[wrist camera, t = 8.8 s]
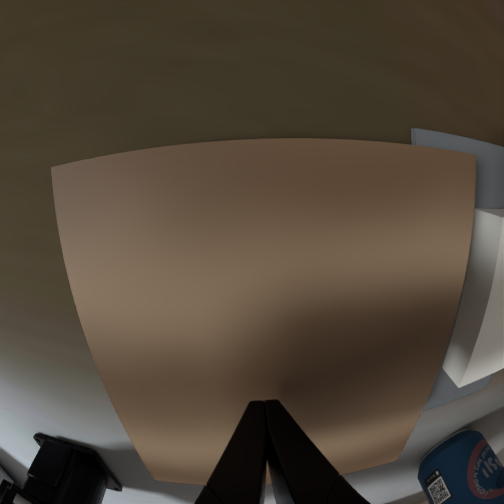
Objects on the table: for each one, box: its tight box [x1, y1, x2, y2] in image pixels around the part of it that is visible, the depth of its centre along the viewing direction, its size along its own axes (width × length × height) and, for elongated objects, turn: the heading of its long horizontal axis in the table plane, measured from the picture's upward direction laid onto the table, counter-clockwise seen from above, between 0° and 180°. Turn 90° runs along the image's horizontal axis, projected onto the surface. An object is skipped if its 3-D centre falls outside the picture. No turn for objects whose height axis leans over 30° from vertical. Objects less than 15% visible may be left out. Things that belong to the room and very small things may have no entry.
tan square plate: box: [51, 138, 476, 485], centre depth 10 cm, size 14×12×4 cm
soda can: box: [418, 429, 504, 504], centre depth 12 cm, size 7×7×12 cm
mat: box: [411, 128, 504, 412], centre depth 12 cm, size 16×10×1 cm, turn 3°
